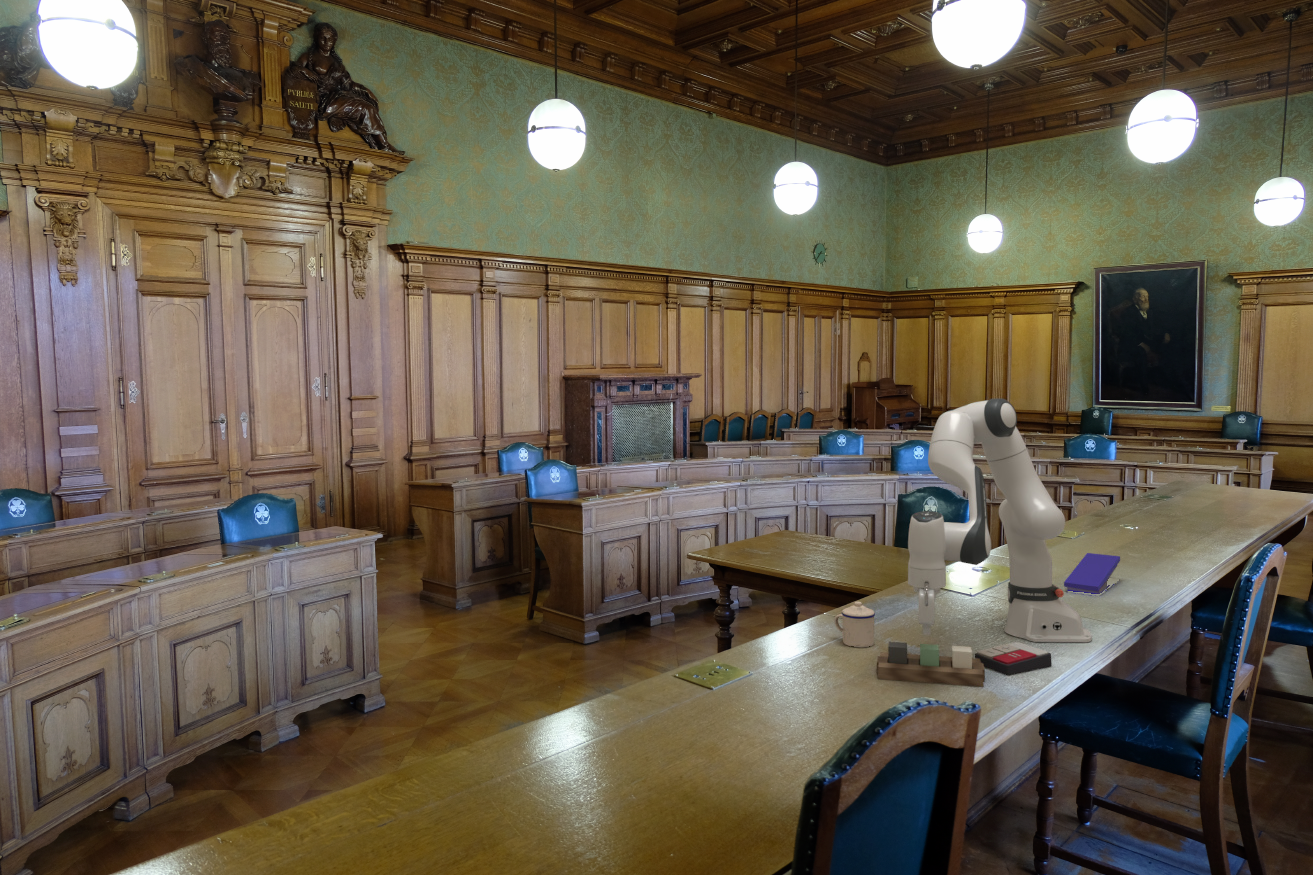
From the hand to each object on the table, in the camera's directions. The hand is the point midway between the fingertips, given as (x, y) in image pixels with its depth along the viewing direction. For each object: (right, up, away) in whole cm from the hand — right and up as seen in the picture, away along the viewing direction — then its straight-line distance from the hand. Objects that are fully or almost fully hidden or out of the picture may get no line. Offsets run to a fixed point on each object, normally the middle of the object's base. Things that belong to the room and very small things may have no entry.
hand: (926, 633), depth 203 cm
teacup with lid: (-11, -10, +28) cm, 32 cm away
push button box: (+24, -10, +6) cm, 27 cm away
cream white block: (+8, -8, -2) cm, 12 cm away
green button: (+1, -8, 0) cm, 8 cm away
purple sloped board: (+86, -4, +85) cm, 121 cm away
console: (+1, -10, 0) cm, 10 cm away
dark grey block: (-6, -8, +2) cm, 11 cm away
